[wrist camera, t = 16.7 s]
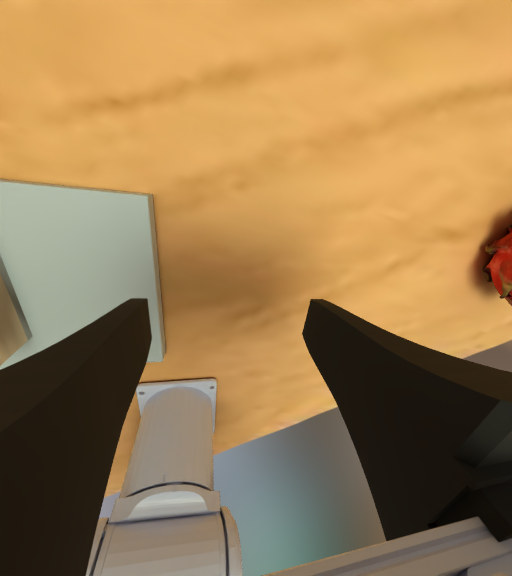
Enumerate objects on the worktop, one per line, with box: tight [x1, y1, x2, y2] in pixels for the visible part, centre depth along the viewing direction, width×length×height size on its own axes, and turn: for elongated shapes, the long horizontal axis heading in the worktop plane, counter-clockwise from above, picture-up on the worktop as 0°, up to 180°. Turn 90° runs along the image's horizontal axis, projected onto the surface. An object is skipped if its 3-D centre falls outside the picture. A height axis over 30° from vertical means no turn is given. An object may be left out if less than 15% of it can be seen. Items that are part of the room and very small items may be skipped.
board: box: [0, 179, 166, 370], centre depth 16 cm, size 14×20×2 cm
